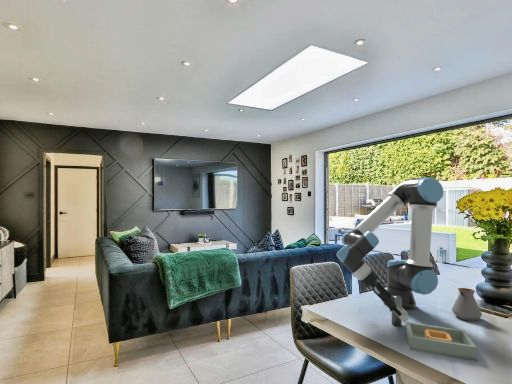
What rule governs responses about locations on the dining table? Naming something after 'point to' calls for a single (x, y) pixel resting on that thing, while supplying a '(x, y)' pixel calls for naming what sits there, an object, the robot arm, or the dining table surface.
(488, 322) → the dining table surface
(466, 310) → the coffee pot
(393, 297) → the peg
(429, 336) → the walled box
